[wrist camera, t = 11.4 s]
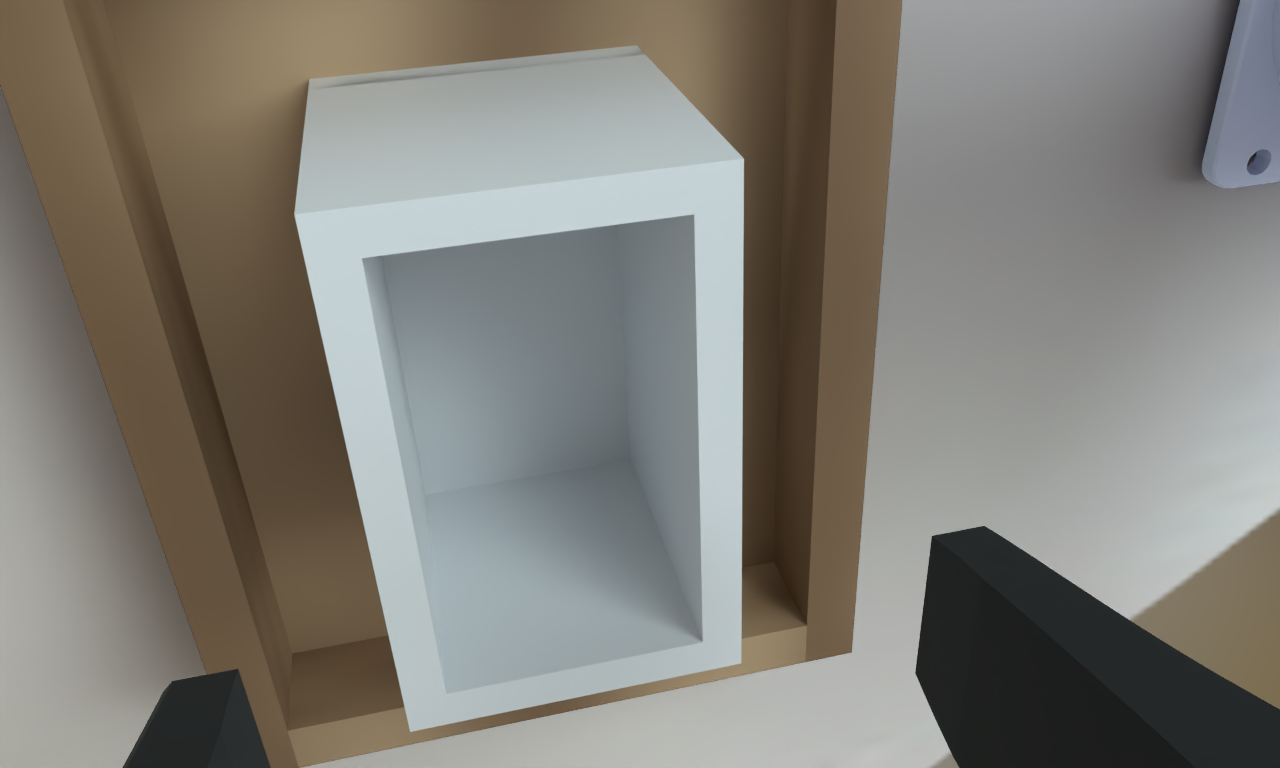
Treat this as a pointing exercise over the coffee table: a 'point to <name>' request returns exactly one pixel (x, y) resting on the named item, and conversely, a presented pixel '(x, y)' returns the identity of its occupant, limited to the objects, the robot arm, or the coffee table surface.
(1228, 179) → the robot arm
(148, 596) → the coffee table surface
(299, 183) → the white crate
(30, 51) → the walnut crate
